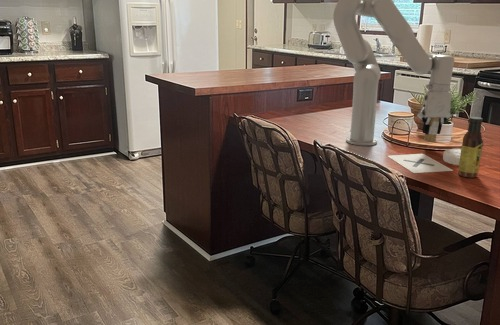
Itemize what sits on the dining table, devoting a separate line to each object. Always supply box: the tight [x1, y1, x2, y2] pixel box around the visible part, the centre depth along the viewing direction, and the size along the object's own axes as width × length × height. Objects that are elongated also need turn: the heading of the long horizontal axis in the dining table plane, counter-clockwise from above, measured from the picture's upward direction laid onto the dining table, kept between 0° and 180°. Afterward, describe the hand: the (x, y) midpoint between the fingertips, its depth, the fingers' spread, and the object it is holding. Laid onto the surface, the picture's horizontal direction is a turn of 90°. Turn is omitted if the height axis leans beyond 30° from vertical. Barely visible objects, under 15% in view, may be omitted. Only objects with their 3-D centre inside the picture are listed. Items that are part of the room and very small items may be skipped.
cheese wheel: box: [442, 148, 461, 166], centre depth 179 cm, size 12×12×4 cm
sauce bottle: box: [458, 116, 484, 179], centre depth 162 cm, size 6×6×20 cm
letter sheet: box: [387, 153, 454, 174], centre depth 177 cm, size 20×15×1 cm
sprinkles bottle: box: [423, 118, 440, 143], centre depth 192 cm, size 5×5×13 cm
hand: (431, 132), depth 193 cm, fingers closed on sprinkles bottle, 4 cm apart
